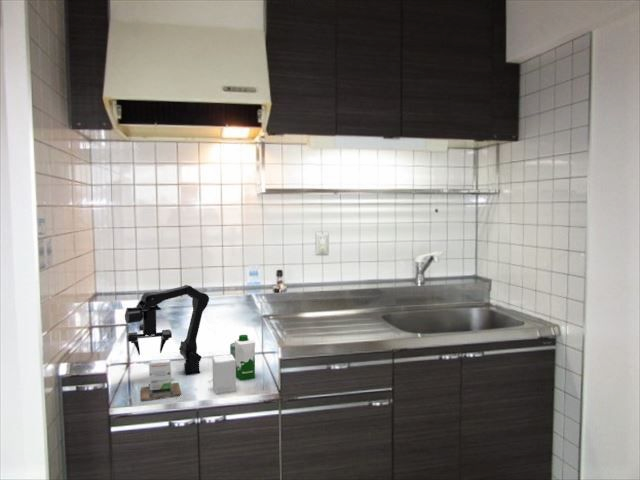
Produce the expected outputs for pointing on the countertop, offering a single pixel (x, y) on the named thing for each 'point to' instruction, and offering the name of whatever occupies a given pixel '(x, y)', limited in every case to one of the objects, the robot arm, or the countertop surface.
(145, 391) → the base plate
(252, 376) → the milk carton
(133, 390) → the countertop surface
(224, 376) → the supplement box
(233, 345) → the canned tomato
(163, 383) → the ink box
